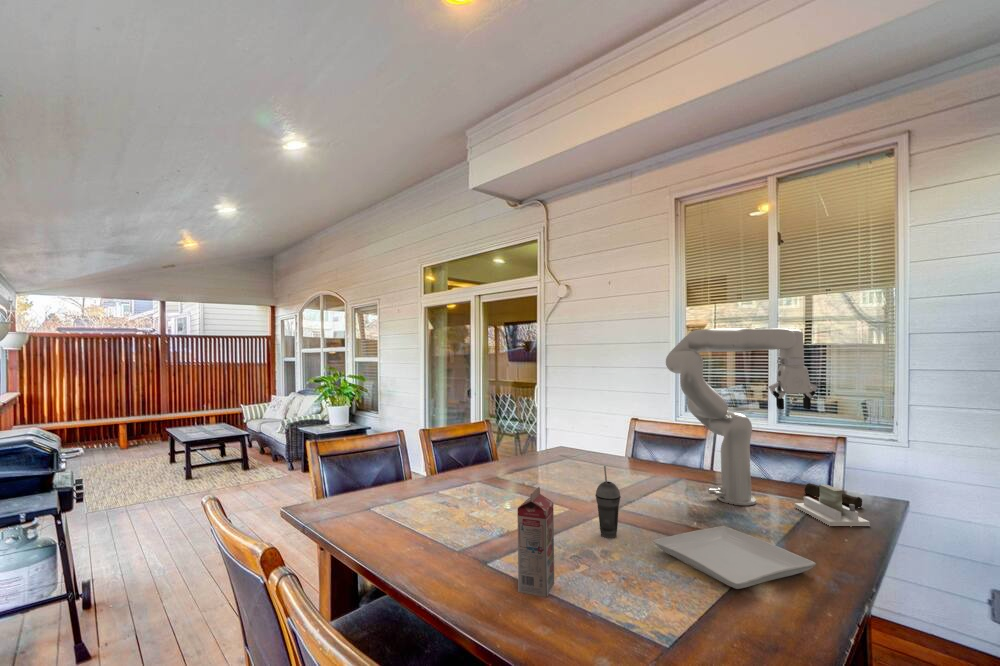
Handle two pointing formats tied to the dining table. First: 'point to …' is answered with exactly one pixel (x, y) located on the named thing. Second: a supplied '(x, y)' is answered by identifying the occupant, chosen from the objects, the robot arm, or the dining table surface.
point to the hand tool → (846, 499)
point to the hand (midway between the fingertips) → (793, 408)
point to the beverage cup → (608, 508)
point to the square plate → (733, 556)
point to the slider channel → (831, 513)
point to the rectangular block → (831, 497)
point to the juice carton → (536, 545)
